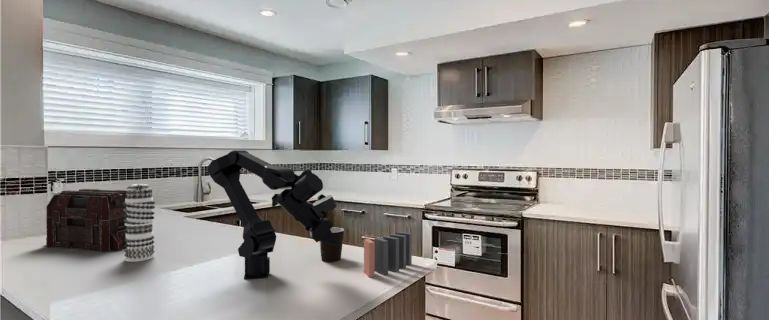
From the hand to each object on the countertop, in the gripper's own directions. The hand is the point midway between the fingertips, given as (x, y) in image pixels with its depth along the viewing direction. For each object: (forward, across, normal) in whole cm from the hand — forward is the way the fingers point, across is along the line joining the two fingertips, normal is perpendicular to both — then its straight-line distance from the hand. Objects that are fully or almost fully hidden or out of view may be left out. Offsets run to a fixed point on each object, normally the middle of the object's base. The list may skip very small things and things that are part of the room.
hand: (337, 244), depth 109 cm
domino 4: (+21, +5, -7) cm, 23 cm away
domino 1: (+14, +1, 0) cm, 14 cm away
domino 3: (+19, +3, -5) cm, 20 cm away
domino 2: (+16, +1, -2) cm, 17 cm away
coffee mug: (+9, +21, +5) cm, 24 cm away
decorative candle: (-35, +42, +49) cm, 73 cm away
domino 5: (+24, +8, -10) cm, 27 cm away
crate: (-49, +70, +64) cm, 107 cm away
